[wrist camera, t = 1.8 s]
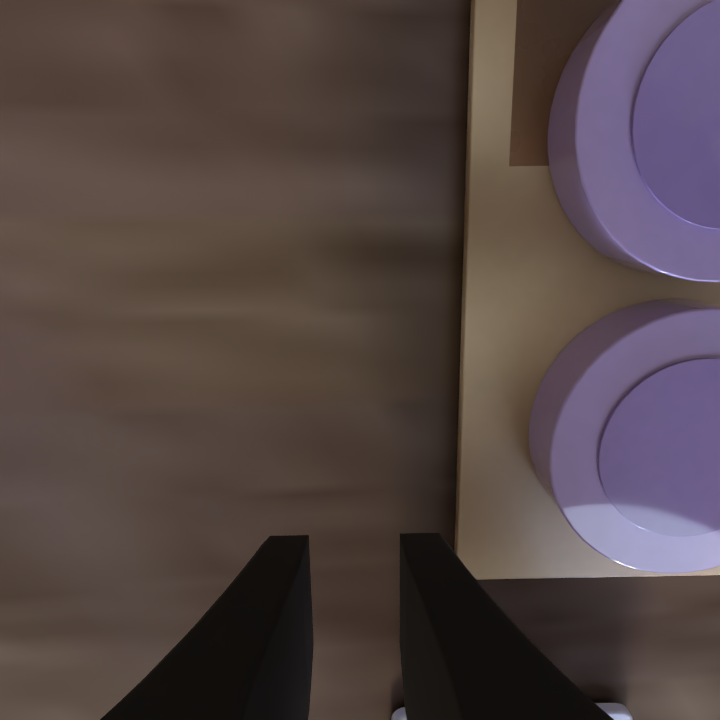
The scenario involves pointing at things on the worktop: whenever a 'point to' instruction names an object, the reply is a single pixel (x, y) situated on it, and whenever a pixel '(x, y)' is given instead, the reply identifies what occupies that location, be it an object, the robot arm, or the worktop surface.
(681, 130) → the saucer
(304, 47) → the worktop surface
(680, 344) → the saucer
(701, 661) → the worktop surface
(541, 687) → the robot arm
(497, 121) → the board
